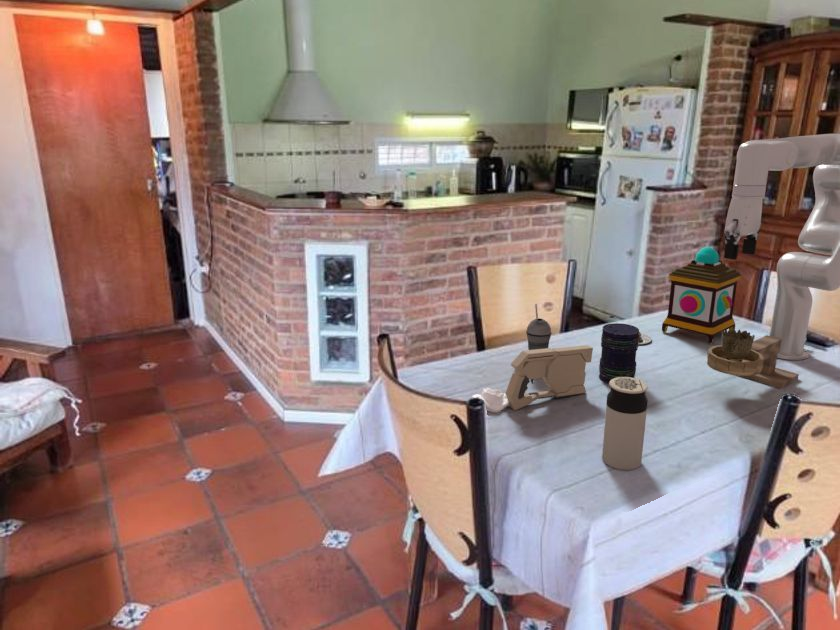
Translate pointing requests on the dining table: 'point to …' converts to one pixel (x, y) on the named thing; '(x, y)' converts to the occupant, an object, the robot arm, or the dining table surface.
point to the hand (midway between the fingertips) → (739, 256)
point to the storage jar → (618, 351)
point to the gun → (548, 373)
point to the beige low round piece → (644, 336)
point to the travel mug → (625, 423)
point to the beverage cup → (538, 333)
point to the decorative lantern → (702, 296)
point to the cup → (736, 344)
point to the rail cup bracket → (754, 363)
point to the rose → (493, 399)
